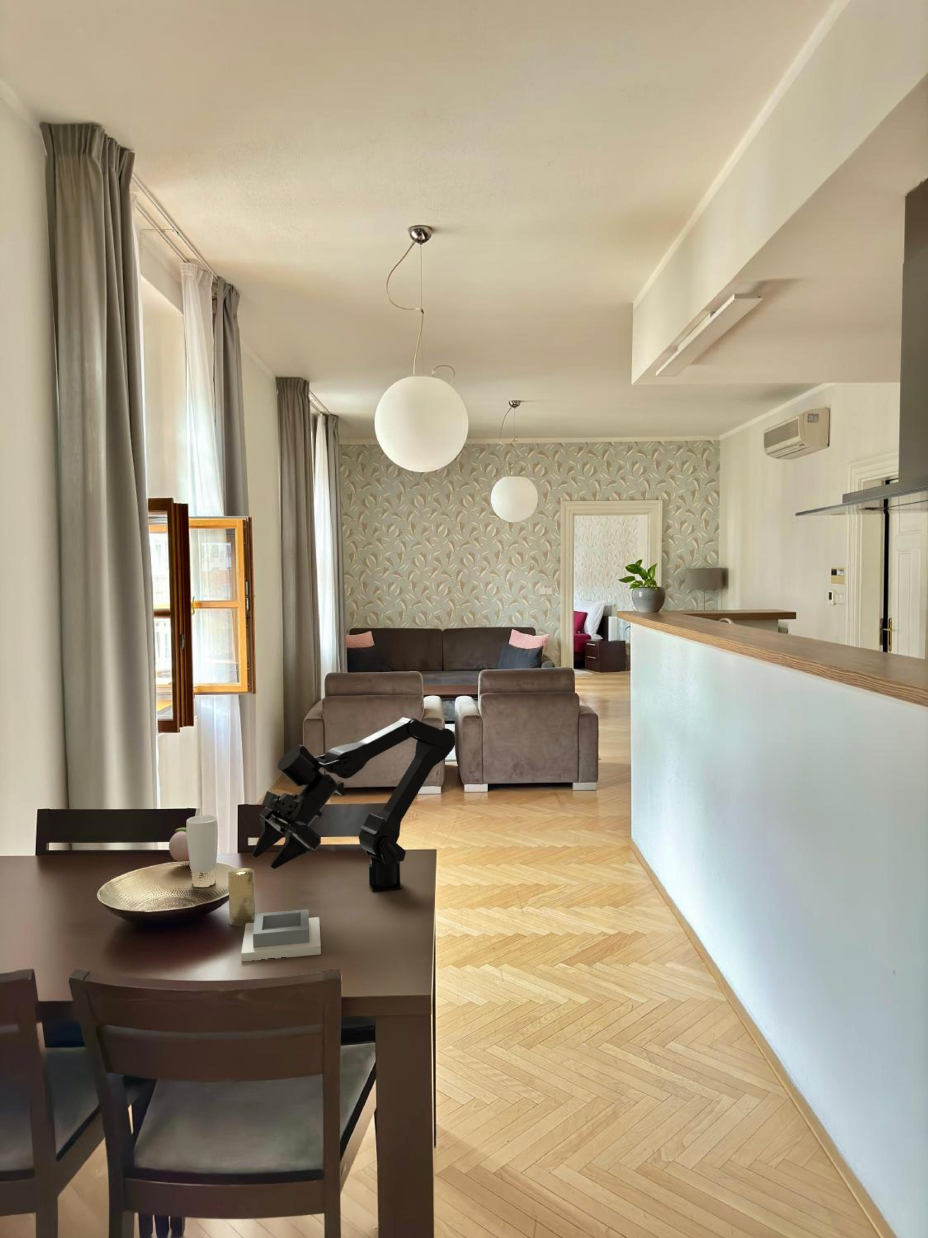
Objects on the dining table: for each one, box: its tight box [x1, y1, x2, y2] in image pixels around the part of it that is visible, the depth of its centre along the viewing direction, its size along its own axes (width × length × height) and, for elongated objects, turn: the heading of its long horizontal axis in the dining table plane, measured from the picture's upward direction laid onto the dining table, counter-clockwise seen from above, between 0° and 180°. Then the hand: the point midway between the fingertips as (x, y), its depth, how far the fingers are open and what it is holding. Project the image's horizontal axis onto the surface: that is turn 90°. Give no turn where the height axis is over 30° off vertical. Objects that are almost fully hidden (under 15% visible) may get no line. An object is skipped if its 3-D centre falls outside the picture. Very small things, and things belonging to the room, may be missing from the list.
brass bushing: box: [227, 867, 256, 928], centre depth 172 cm, size 5×5×10 cm
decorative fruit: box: [168, 827, 189, 862], centre depth 207 cm, size 9×8×10 cm
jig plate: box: [240, 908, 322, 962], centre depth 162 cm, size 14×14×4 cm
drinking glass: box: [185, 814, 219, 872], centre depth 194 cm, size 7×7×15 cm
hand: (262, 862), depth 175 cm, fingers open, 9 cm apart
